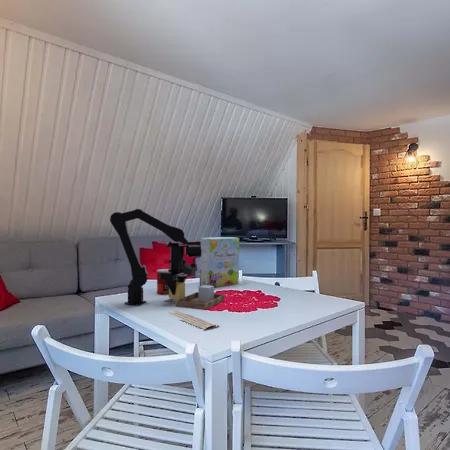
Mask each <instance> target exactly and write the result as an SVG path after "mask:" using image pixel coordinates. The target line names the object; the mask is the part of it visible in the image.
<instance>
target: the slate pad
mask: <svg viewBox="0 0 450 450" xmlns="http://www.w3.org/2000/svg"><path fill="white" fill-rule="evenodd" d="M180 299H181V298H180ZM176 300H179V299H176V298H168V299H165V300H164V301H163V302H164V303H165V302H166V303H173V304H174V303H175V304H176Z"/></svg>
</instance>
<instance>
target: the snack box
mask: <svg viewBox="0 0 450 450" xmlns="http://www.w3.org/2000/svg"><path fill="white" fill-rule="evenodd" d="M200 242H201V249H202V253H201V257H199V258H200V259H199V262H200V263H199V287H200V286H203V285H209V286H214V288H218V287H220V288H221V287H225V286H232V285H238V284H239V268H240V267H239V265H240V262H239V261H240V255H239V254H240V237H234V236H232V237H231V236H229V237H228V236H227V237H225V236H221V237H217V236H216V237H215V236H214V237H213V236H212V237H200Z"/></svg>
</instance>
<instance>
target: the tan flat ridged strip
mask: <svg viewBox="0 0 450 450" xmlns="http://www.w3.org/2000/svg"><path fill="white" fill-rule="evenodd" d="M168 314H169V315H171V316H174V317H175V318H178V319H179V321H181V322H182V323H184V322H185V323H186V324H187V323H188V324H187V325H189V324H190V325H189V326H192V325H193V326H192V327H194V326H195V327H194V328H197V327H198V328H197V329H199V328H200V329H199V330H201V329H203V330H202V331H204V330H206V329H207V328H209V327H215V326H216V325H217V326H219V325H218V324H215V323H212V322H210V321H206V320H204V319H202V318H199V317H197V316H194V315H192V314H188V313H185V312H184V311H180V310H172V311H169V312H168Z"/></svg>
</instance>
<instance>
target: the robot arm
mask: <svg viewBox="0 0 450 450" xmlns="http://www.w3.org/2000/svg"><path fill="white" fill-rule="evenodd" d="M136 219H139V220H140V221H142V222H144V223H146V224H148V225H149V226H151V227H153V228H155V229H157V230H159V231H160V232H162V233H163V234H164V235H166V236H167V237H168V238H169V239H171V240H172V241H173V242H172V241H170V240H169V241H168V243H167V244H166V245H165V246H166V248H170V255H169V257H170V259H168V261H167V262H168V263H170V265H169V266H170V267H169V268H168V269H169V270H168V272H162V273H161V274H160V280H165V281H166V283H167V285H168V286H169V288H170V291H171V293H172V295H175V292H176V283H177V282H183V283H186V280H187V279H188V278H189V277H192V276H195V274H196V272H197V271H198V266H197V265H198V264H197V263H195V262H192V263H187V259H184V258H185V255H186V256H187V258H200V257H201V253H202V249H201V240H196V241H188V239H186V237H185V232H184V230H182V229H181V228H179V227H176V226H173V225H171V224H168V223H165V222H164V221H162V220H159V219H157V218H156V217H154V216H153V215H150V214H149V213H146V212H145V211H143V210H142V209H141V208H136V209H134V210H133V209H132V210H129V211H125V212H119V211H116V212H114V213H113V212H112V214H111V215H110V217H109V221H110V223H111V225H112V226H113V228H114V230H115V232H116V233H117V235H118V236H119V239H120V241H121V244H122V246H123V249H124V252H125V255H126V258H127V260H128V263H129V266H130V270H131V278H132V279H131V280H130V281H129V282H128V284H127V288H128V289H127V301H126V302H124V304H125V305H133V306H139V305H143V304H144V303H147V301H146V300H144V287H143V286H144V285H145V284H146V283H147V282H148V278H149V277H148V276H149V272H148V271H147V266H146V265H145V264H143V265H142V264H141V262H140V260H139V258H138V255H137V254H138V253H137V251H136V249H135V247H134V244H133V242H132V239H131V237H130V233H129V231H128V230H129V229H128V223H127V222H129V221H133V220H136ZM181 244H182V245H181Z"/></svg>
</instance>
